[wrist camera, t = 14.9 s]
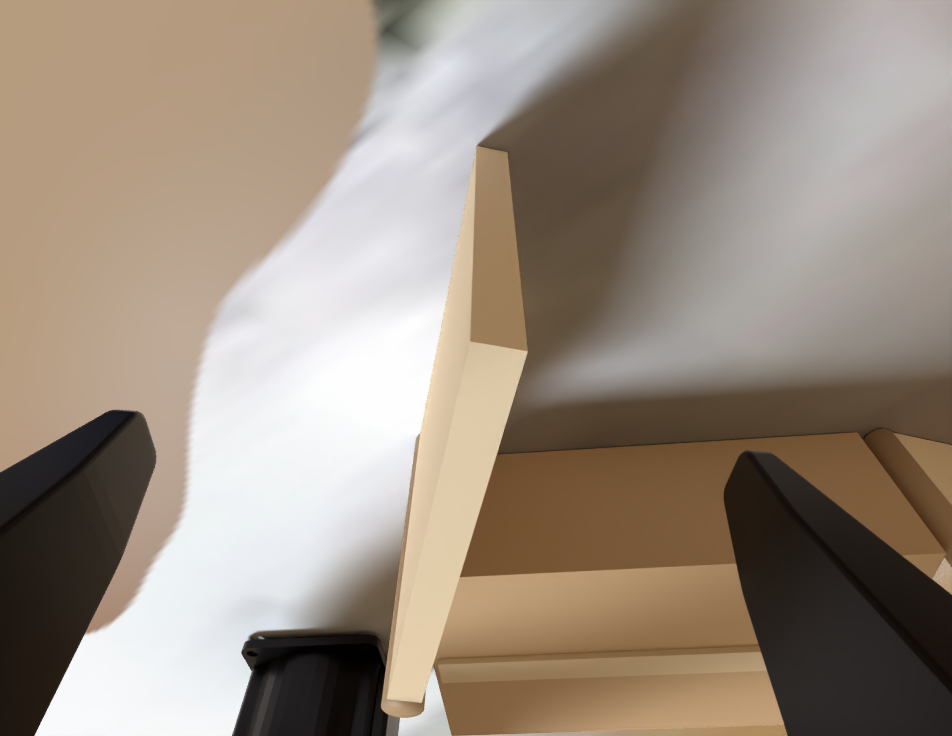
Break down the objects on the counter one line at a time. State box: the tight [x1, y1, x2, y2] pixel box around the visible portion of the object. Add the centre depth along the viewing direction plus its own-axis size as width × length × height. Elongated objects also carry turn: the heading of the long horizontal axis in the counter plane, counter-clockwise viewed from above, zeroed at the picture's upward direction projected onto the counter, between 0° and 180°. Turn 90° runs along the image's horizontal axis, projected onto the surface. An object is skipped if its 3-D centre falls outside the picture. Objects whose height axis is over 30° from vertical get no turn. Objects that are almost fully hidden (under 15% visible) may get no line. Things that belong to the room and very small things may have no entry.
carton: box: [433, 432, 946, 736], centre depth 22 cm, size 15×10×5 cm, turn 95°
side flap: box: [381, 146, 528, 718], centre depth 15 cm, size 11×1×9 cm, turn 169°
